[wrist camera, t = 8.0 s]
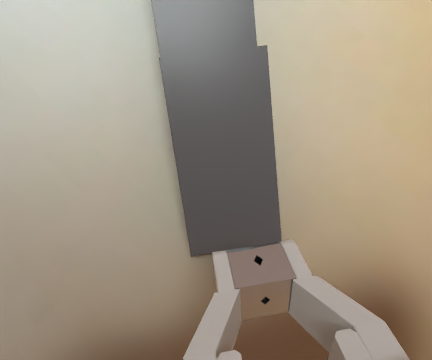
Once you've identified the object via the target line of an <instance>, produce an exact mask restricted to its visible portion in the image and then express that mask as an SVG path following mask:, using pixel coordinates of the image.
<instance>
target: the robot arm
mask: <svg viewBox="0 0 432 360" xmlns="http://www.w3.org/2000/svg"><path fill="white" fill-rule="evenodd" d="M212 256H213V264H214V272H215V280H216V287H217V293H214V295H213V297H212V299H211V301H210V303H209V305H208V307H207V309H206V311H205V313H204V315H203V318H202V320H201V322H200V324H199V326H198V328H197V330H196V332H195V334H194V336H193V338H192V340H191V343H190V345H189V347H188V349H187V351H186V353H185V355H184V357H183V360H242V357H241V354H240V353H239V352H237V351H236V350H233V348H234V345H235V342H236V339H237V336H238V333H239V329H240V326H241V323H242V320H247V319H252V318H257V317H262V316H267V315H274V314H281V313H287V312H289V314H290V315H291V316H292V317H293V318H294V319H295V320H296V321H297V322H298V323H299V324H300V325H301V326H302V327H303V328H304V329H305V330H306V331H307V332H308V333H309V334H310V335H311V336H312V337H313V338H314V339H315V340H316V341H317V342H318V343H319V344H320V345H321V346H322V347H323V348H324V349H325V350H326V351H327V352H328V353H329V356H328V359H327V360H410V359H409V358H408V356H407V355H406V353H405V352H404V350H403V348H402V347H401V345H400V344H399V342H398V341H397V339H396V338H395V336H394V335H393V333H392V332H391V330H390V329H389V327H388V326H387V324H386V323H385V321H383V320H382V319H380V318H379V317H378V316H376V315H375V314H373V313H372V312H370V311H369V310H367V309H366V308H364V307H363V306H361V305H360V304H358V303H357V302H355V301H354V300H353V299H351V298H350V297H348V296H347V295H345V294H344V293H342V292H341V291H339V290H338V289H336V288H335V287H333V286H332V285H330V284H329V283H327V282H326V281H325V280H323V279H322V278H320V277H319V276H313V275H312V273H311V271H310V269H309V267H308V265H307V264H306V262H305V260H304V258H303V256H302V254H301V252H300V250H299V248H298V246H297V244H296V242H295V241H294V240H286V241H280V242H273V243H267V244H262V245H256V246H252V247H245V248H237V249H230V250H224V251H217V252H212Z"/></svg>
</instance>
